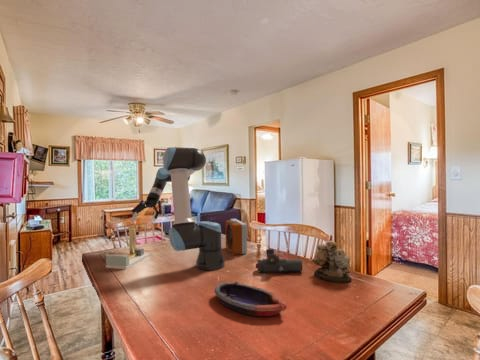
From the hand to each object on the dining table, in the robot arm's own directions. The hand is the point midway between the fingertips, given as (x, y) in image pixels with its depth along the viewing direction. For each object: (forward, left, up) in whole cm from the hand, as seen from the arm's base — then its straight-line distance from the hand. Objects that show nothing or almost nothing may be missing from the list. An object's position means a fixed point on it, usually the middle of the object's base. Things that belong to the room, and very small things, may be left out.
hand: (142, 222), depth 166 cm
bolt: (-9, +5, -18) cm, 21 cm away
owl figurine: (-69, -85, -20) cm, 111 cm away
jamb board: (-12, +7, -20) cm, 24 cm away
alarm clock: (-12, -56, -20) cm, 61 cm away
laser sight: (-54, -65, -20) cm, 87 cm away
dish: (-82, -39, -20) cm, 93 cm away
